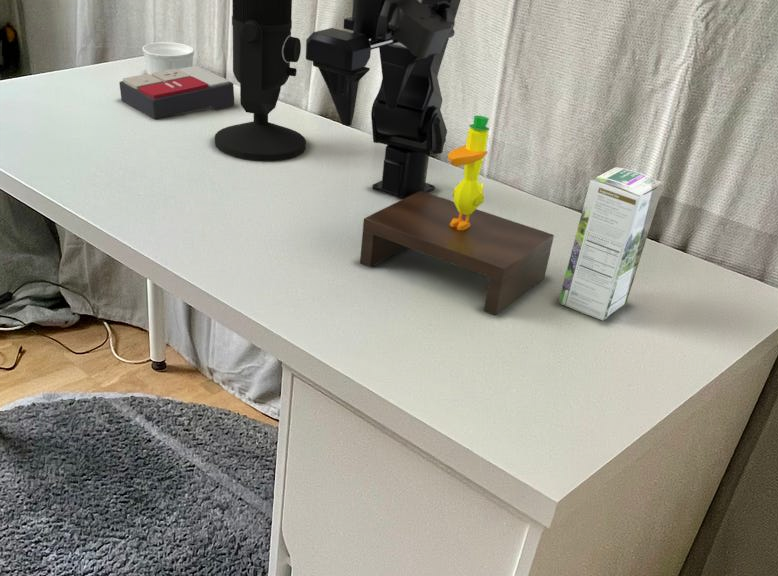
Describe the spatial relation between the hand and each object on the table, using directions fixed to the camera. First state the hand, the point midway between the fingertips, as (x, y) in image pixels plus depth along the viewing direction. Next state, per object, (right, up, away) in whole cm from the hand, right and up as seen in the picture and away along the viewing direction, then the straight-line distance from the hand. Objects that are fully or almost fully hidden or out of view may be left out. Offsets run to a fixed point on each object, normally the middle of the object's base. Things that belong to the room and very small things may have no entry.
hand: (369, 117), depth 105 cm
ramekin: (-35, +27, +53) cm, 69 cm away
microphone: (-16, +6, +28) cm, 32 cm away
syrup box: (+25, -23, -6) cm, 35 cm away
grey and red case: (-31, +17, +40) cm, 54 cm away
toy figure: (+10, -14, -5) cm, 18 cm away
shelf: (+10, -19, -2) cm, 21 cm away
